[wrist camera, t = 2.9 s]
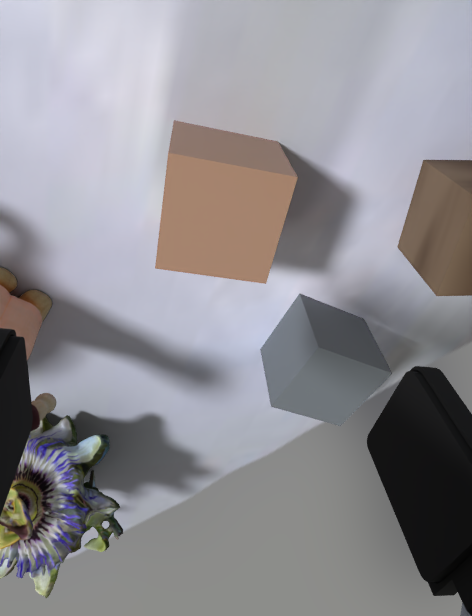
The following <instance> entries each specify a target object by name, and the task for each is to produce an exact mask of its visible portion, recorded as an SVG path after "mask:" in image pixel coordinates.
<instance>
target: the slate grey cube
mask: <svg viewBox="0 0 472 616" xmlns="http://www.w3.org/2000/svg"><path fill="white" fill-rule="evenodd" d="M261 355H262V360H263V365H264V371H265V376H266V381H267V387H268V392H269V398H270V403H271V407H275V408H278V409H282V410H285V411H289V412H292V413H296V414H300V415H303V416H307V417H310V418H314V419H317V420H321V421H324V422H328V423H331V424H335V425H338V426H341V425H342V424H343V423H344V422H345V421H346V420H347V419H348V418H349V417H350V416H351V415H352V413H354V412H355V411H356V410H357V409H358V408H359V407H360V406H361V405H362V404H363V403H364V402H365V401H366V400H367V398H368V397H369V396H370V395H371V394H372V393H373V392H374V391H375V390H376V389H377V388H378V387H379V386H380V385H381V384H382V383H383V382H384V381H385V380H386V379H387V378H388V377H389V376H390V375H391V374H392V372H391V370H390V368H389V366H388V364H387V362H386V360H385V359H384V357H383V355H382V353H381V351H380V349H379V347H378V345H377V343H376V341H375V339H374V338H373V336H372V334H371V332H370V330H369V328H368V326H367V324H366V322H365V320H364V319H363V318H360V317H358V316H355V315H353V314H350V313H348V312H345V311H343V310H340V309H337V308H335V307H332V306H330V305H327V304H325V303H322V302H320V301H317V300H315V299H312V298H310V297H307V296H305V295H302V294H299V295H298V297H297V298H296V300H295V301H294V302H293V304H292V305H291V307H290V308H289V309H288V311H287V312H286V314H285V315H284V317H283V318H282V319H281V321H280V322H279V324H278V325H277V327H276V328H275V329H274V331H273V332H272V334H271V335H270V336H269V338H268V339H267V341H266V342H265V344H264V345H263V346H262V348H261Z"/></svg>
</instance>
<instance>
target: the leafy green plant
mask: <svg viewBox="0 0 472 616" xmlns="http://www.w3.org/2000/svg"><path fill="white" fill-rule="evenodd" d="M108 450H109V438H108V436H106V435H100V434H98V435H94V436H91V437H88V438H87V439H85V440H83V441H81V442H80V443H79V444H78V445H77V433H76V429H75V426H74V423H73V422H72V420H71V418H70V416H66V417H65V418H63V419H62V420H60V422H59V423H58V424H57V425H56V426H52V425H51V424H50V423H49V422H48V420H47V418H46V416H45V417H44V418H43V419H42V420H41V421H40V426H39V427H38V428H37V429H35V430H33V431H31V432H30V435H29V438H28V441H27V443H26V446H25V449H24V452H23V455H22V457H21V460H20V463H19V466H18V469H17V471H16V474H15V477H14V480H13V483H12V485H11V488H10V491H9V494H8V496H7V499H6V502H5V505H4V508H3V510H2V513H1V516H0V579H1V578H2V577H4V576H6V575H8V574H9V573H10V572H11V571H12V570H13V569H14V566H15V565H16V564H17V567H18V573H17V577H20V578H23V575H24V573H25V572H30V574H29V575H30V577H31V578H32V579H33V580H34V582H35V585H36V588H35V591H37V592H38V593H39V594H40V595H43V596H45V597H46V598H47V597H48V596H49V595H50V593H51V590H52V589H53V586H54V584H55V581H56V579H57V575H58V570H59V567H60V564H61V563H63V562H64V559H65V558H66V556H67V555H68V554H69V553H72V552H75V551H77V550H78V549H80V548H81V537H82V536H83V534H84V533H85V532H86V531H87V530H89V529H90V528H91V527H94V528H95V529H96V530H97V532H98V533H99V535H98V538H94V539H91V540H90V541H89V542H88V543H86V544H85V545H84V547H86V548H87V549H90V550H97V551H99V552H102V551H105V550H106V549H107V548H108V547H109V541H108V539H109V537H110V535H111V534H112V533H114V536H115V538H116V539H117V540H118V536H120V535H121V534H123V529H122V527H121V526H120V524H119V523H118V521H117V520H116V519H115V518H114V512H115V511H116V510H117V509H118V508H120V506H119V504H118V503H117V502H116V501H115V500H114V499H113V498H111V497H108V496H106V495H104V494H103V493H102V492H99V490H98V488H96V487H95V476H94V471H93V470H92V471H91V474H90V480H89V482H85V483H84V477H85V476H86V474H87V472H88V471H89V469H90V468H91V467H92V466H94V465H97V464H98V463H99V462H100V461H101V460H102V458H103V457H104V456H105V455H106V453H107V452H108ZM103 521H108V522H109V524H110V525H109V527H108V528H107V529H104V528H103V527H102V523H103Z"/></svg>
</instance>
